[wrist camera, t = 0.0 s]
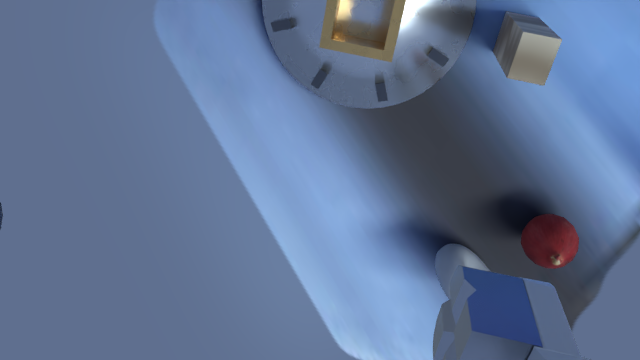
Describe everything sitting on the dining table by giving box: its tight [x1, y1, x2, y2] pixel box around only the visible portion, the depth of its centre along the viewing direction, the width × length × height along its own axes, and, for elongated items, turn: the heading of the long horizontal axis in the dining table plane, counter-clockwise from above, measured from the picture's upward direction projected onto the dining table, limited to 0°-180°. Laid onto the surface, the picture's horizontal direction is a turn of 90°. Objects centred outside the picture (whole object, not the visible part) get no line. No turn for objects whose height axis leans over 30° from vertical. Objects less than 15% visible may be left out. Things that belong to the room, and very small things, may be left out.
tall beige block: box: [493, 11, 562, 85], centre depth 48 cm, size 4×3×9 cm
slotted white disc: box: [262, 0, 476, 108], centre depth 51 cm, size 21×21×4 cm
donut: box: [435, 244, 490, 299], centre depth 61 cm, size 10×4×10 cm, turn 47°
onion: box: [521, 214, 579, 269], centre depth 58 cm, size 6×6×8 cm
